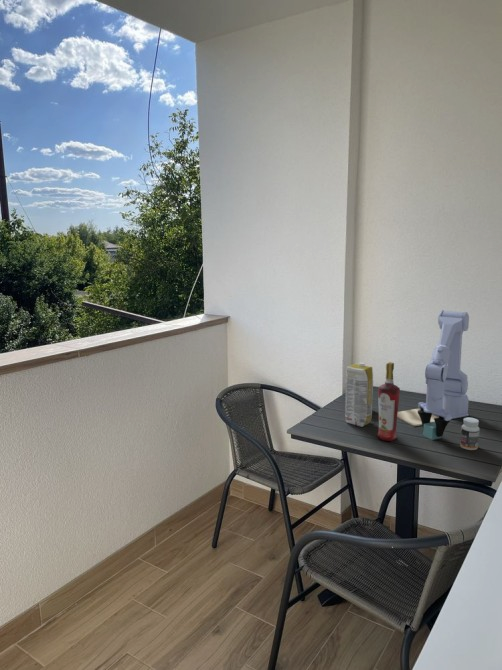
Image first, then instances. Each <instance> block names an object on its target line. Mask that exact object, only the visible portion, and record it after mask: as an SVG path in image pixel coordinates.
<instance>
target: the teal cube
mask: <svg viewBox="0 0 502 670" xmlns="http://www.w3.org/2000/svg"><path fill="white" fill-rule="evenodd" d="M422 430H423V432H422V434H423V436H424V437H426V438H428V439H429V440H431V441H432V440H433V441H434V440H438V439H442V437H443V436H441V437H437V436H436V424H435V422H431V423H426V424H424V429H423V428H422Z"/></svg>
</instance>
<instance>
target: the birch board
mask: <svg viewBox="0 0 502 670" xmlns="http://www.w3.org/2000/svg"><path fill="white" fill-rule="evenodd" d="M420 409H421V408H418V407H417V408H414V409H413V408H412V409H407V410H402V411H398V413H397V420H401V421H402V422H404V423H406V424H408V425H410V426H412V427H420V426H422V421H421V418H420V416H419V414H418V411H419V410H420ZM434 418H439V416H437V415H435V414H432V416H431V420H430V423H431V422H435V421H434Z"/></svg>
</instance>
